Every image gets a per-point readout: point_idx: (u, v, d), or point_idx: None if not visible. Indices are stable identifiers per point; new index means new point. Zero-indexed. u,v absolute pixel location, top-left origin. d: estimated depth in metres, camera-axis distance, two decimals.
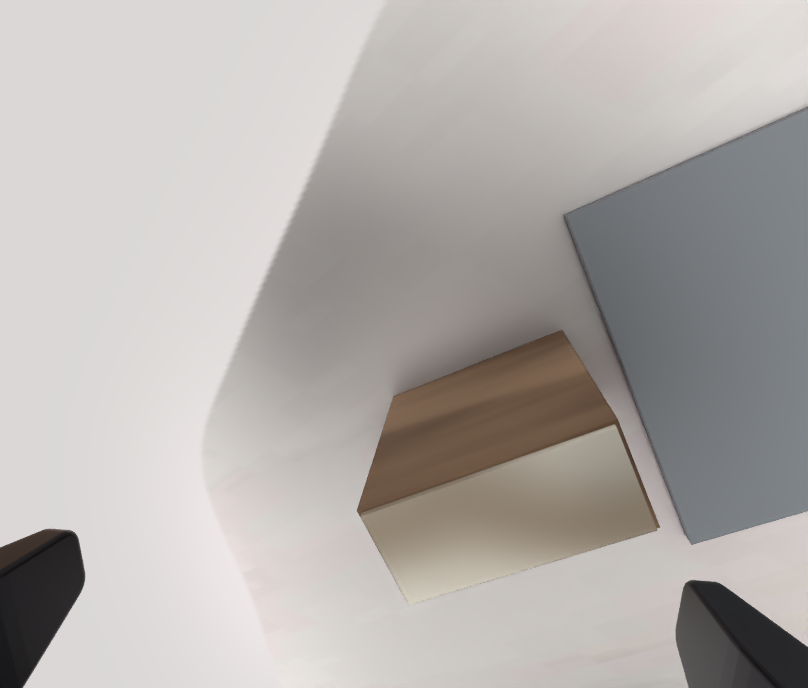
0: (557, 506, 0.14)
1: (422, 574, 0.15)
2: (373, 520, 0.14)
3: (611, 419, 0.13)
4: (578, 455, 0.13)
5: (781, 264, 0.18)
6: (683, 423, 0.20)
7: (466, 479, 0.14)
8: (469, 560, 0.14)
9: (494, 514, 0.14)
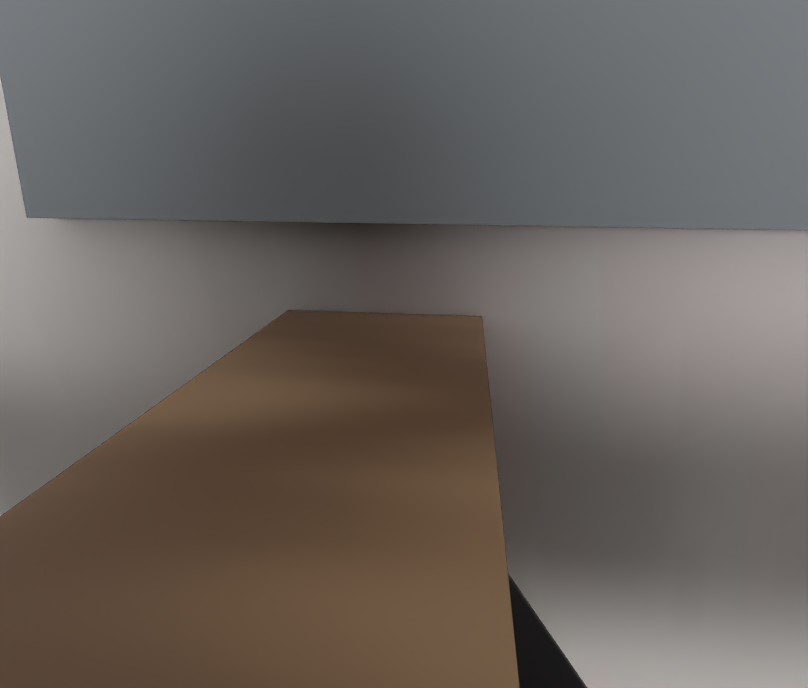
0: None
1: None
2: None
3: None
4: None
5: None
6: (621, 132, 0.07)
7: None
8: None
9: None
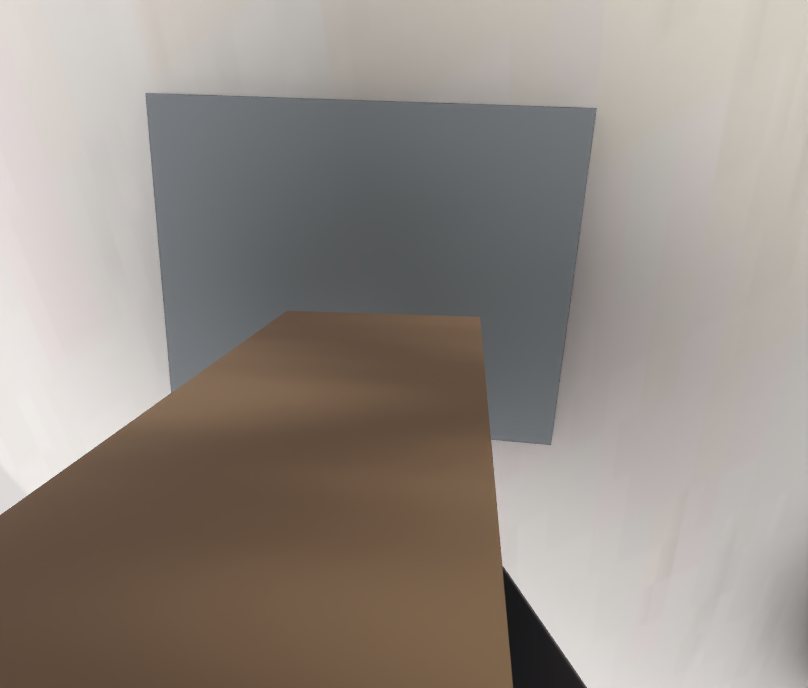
0: None
1: None
2: None
3: None
4: None
5: (282, 264, 0.18)
6: None
7: None
8: None
9: None
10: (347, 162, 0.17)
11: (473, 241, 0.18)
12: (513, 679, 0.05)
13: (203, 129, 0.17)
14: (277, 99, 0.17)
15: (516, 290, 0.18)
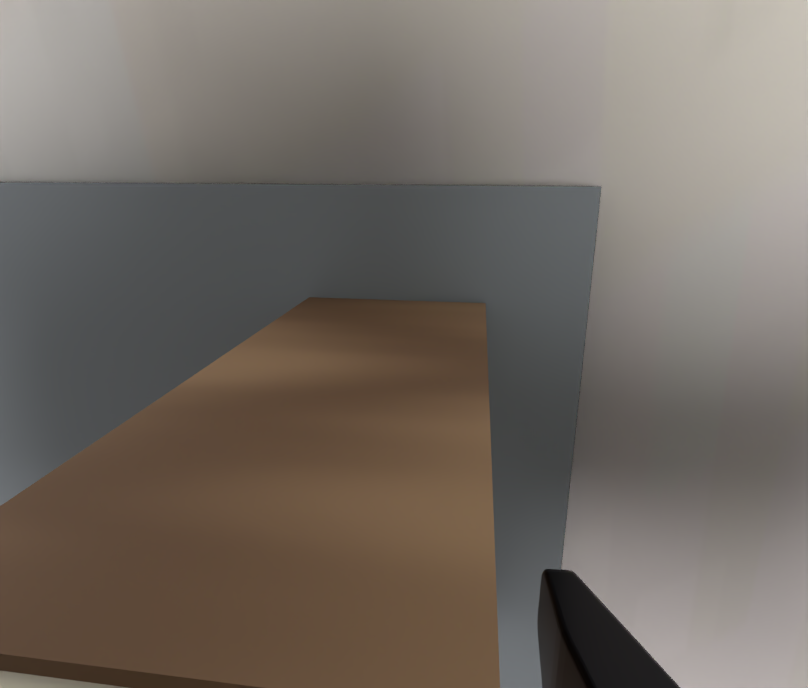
0: None
1: None
2: None
3: None
4: None
5: None
6: None
7: None
8: None
9: None
10: (180, 285, 0.10)
11: None
12: None
13: None
14: (53, 185, 0.10)
15: None
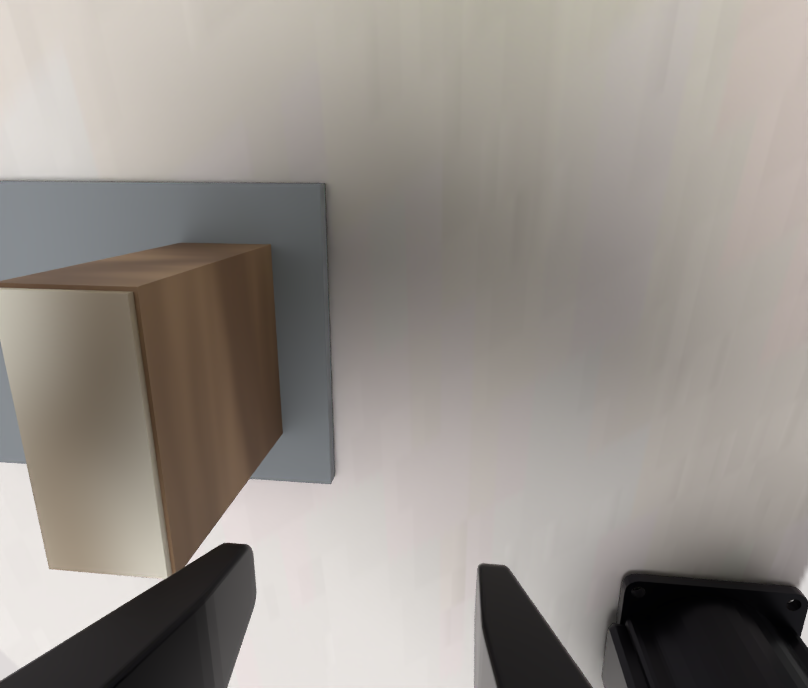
0: (73, 384, 0.12)
1: (130, 548, 0.13)
2: (55, 560, 0.13)
3: None
4: (15, 339, 0.11)
5: None
6: None
7: (26, 455, 0.12)
8: (123, 497, 0.12)
9: (70, 449, 0.12)
10: (113, 236, 0.19)
11: None
12: (519, 680, 0.05)
13: None
14: (44, 183, 0.19)
15: (277, 346, 0.19)
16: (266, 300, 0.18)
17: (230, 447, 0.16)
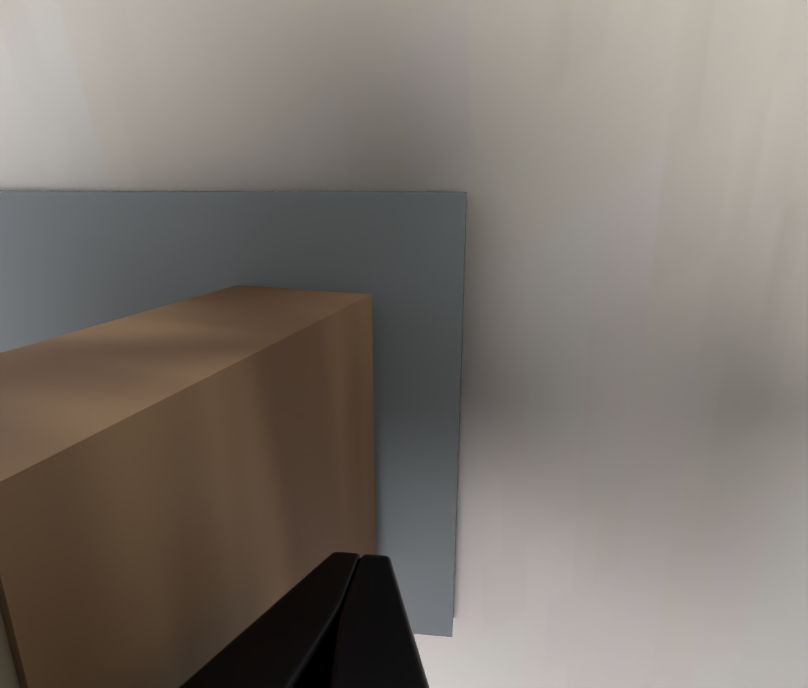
0: None
1: None
2: None
3: None
4: None
5: None
6: None
7: None
8: None
9: None
10: (130, 275, 0.12)
11: None
12: (354, 663, 0.05)
13: None
14: (24, 193, 0.12)
15: (382, 441, 0.13)
16: (359, 388, 0.11)
17: None
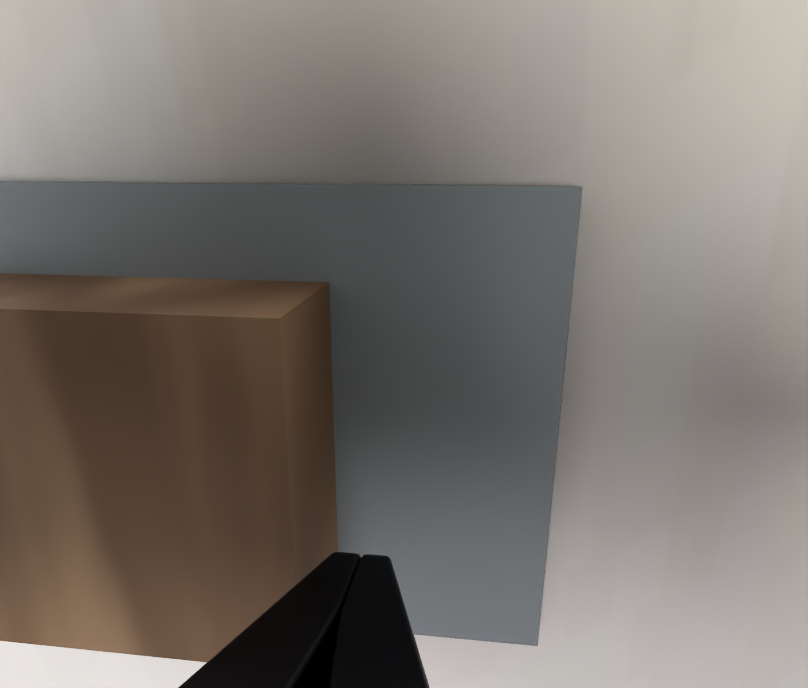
0: None
1: None
2: None
3: None
4: None
5: None
6: None
7: None
8: None
9: None
10: (218, 271, 0.12)
11: (409, 379, 0.12)
12: (354, 663, 0.05)
13: (10, 230, 0.12)
14: (109, 185, 0.11)
15: (476, 444, 0.12)
16: (241, 420, 0.09)
17: (73, 579, 0.10)
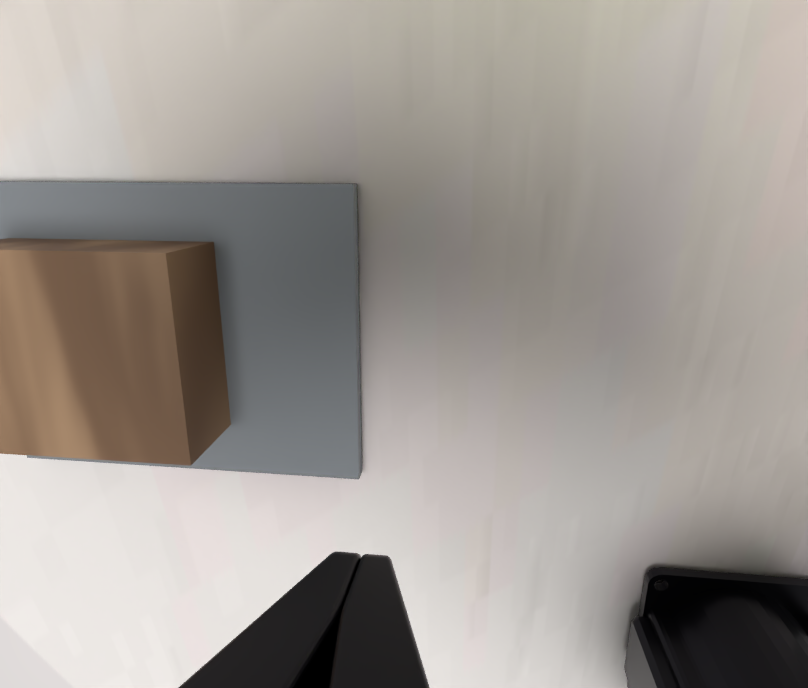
0: None
1: None
2: None
3: None
4: None
5: None
6: (227, 442, 0.21)
7: None
8: None
9: None
10: (147, 236, 0.19)
11: (265, 302, 0.20)
12: (354, 663, 0.05)
13: (22, 211, 0.20)
14: (81, 183, 0.19)
15: (308, 343, 0.20)
16: (149, 311, 0.17)
17: (59, 412, 0.18)
